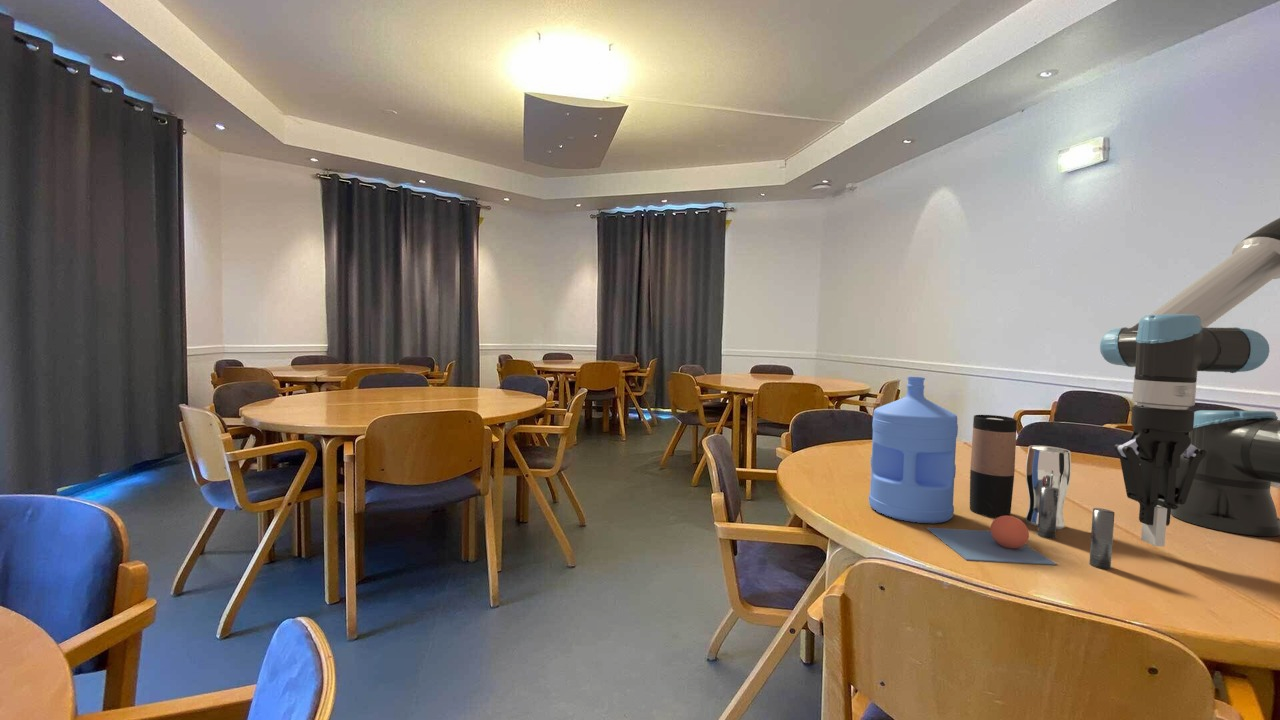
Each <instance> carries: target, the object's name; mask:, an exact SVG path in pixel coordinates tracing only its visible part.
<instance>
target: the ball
mask: <svg viewBox="0 0 1280 720" xmlns="http://www.w3.org/2000/svg"><path fill="white" fill-rule="evenodd" d="M989 531H991V535H992V537H993V539H994V540H995V541H996V542H997V543H998V544H1000V545H1001V546H1003V547H1006V548H1010V549H1016V548H1020V547H1022V546H1024V545H1025V544H1026V545H1027V543H1028V541H1029V538H1030V531H1029V529H1028V527H1027V525H1026V524H1025V523H1024V521H1022V520H1021V519H1019V518H1017V517H1016V516H1013V515H1010V516H1006V515H1005V516H1000V517H998V518H995V519H994V520H992V522H991V524H990V530H989Z"/></svg>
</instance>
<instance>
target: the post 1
mask: <svg viewBox="0 0 1280 720" xmlns="http://www.w3.org/2000/svg"><path fill="white" fill-rule="evenodd" d="M1057 502H1058V489H1057V488H1054V487H1049V486H1041V487H1040V503H1039V519H1038V527H1037V536H1039V537H1041V538H1043V539H1044V538H1045V539H1051V540H1054V539H1056V533H1057V530H1056V518H1057Z"/></svg>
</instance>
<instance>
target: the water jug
mask: <svg viewBox="0 0 1280 720" xmlns="http://www.w3.org/2000/svg"><path fill="white" fill-rule="evenodd" d="M906 379H907V385H906V388H907V391H906V395H905V396H904V397H902V398H900V399H897V400H894V401H892V402H888V403H886V404H883V405H880V406H878V407H876V408H875V409H874V410H873V416H872V425H871V426H872V428H871V429H872V441H871V442H872V445H871V446H872V447H871V455H870V456H871V457H870V487H869V489H870V490H869V493H868V494H869V495H868V503H869V506H870V507H871V509H873V510H874V511H875V510H876V512H877V513H879V514H881V513H882V514H881V515H883V514H884V515H883V516H886V517H888V516H889V517H888V518H891V517H892V519H894V520H895V519H896V520H900V521H903V520H904V522H909V521H910V522H909V523H915V522H917V523H918V524H941V523H945V522H948V521H950V520H951V519H952V518H953V516H954V512H955V507H954V491H955V478H956V469H957V468H956V453H957V452H956V451H957V450H956V449H957V437H958V433H959V432H958V430H959V429H958V428H959V424H958V416H957V414H955V413H953V412H952V411H950V410H948V409H946V408H945V407H942V406H940V405H938V404H937V403H935V402H933V401H931V400H929V399H927V398H926V397H925V395H924V392H925V391H924V390H925V384H924V382H925V379H926V378H925V377H919V376H907V378H906Z"/></svg>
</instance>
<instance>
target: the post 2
mask: <svg viewBox="0 0 1280 720" xmlns="http://www.w3.org/2000/svg"><path fill="white" fill-rule="evenodd" d="M1091 522H1092V523H1091V532H1090V533H1091V534H1090V549H1089V551H1090V552H1089V565H1090V566H1092V567H1094V568H1097V569H1101V570H1111V567H1112V556H1113V555H1112V554H1113V543H1114V542H1113V541H1114V540H1113V539H1114V525H1115V512H1114V511H1113V510H1110V509H1106V508H1100V507H1093V508H1092V517H1091Z"/></svg>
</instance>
